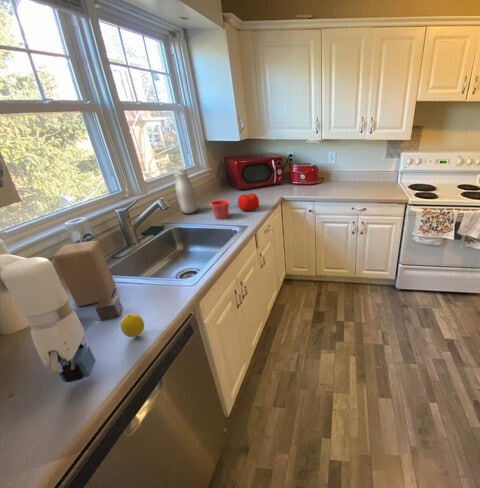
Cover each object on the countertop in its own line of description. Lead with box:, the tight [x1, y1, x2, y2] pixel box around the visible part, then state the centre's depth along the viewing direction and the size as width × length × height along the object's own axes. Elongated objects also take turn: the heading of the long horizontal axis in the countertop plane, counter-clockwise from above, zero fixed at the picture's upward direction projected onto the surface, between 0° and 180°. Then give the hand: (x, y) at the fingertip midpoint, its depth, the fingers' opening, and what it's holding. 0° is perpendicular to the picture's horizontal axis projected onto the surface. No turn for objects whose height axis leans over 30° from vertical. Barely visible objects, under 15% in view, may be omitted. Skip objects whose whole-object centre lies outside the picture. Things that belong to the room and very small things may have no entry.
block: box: [53, 240, 116, 307], centre depth 97 cm, size 10×10×20 cm
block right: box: [95, 295, 124, 322], centre depth 91 cm, size 5×5×5 cm
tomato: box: [237, 192, 260, 212], centre depth 186 cm, size 14×13×10 cm
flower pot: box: [209, 199, 230, 220], centre depth 173 cm, size 11×11×10 cm
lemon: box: [120, 313, 145, 338], centre depth 82 cm, size 6×6×8 cm
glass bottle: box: [173, 168, 198, 215], centre depth 177 cm, size 10×10×28 cm
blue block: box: [58, 345, 96, 383], centre depth 68 cm, size 5×5×5 cm
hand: (79, 369), depth 69 cm, fingers closed on blue block, 5 cm apart
